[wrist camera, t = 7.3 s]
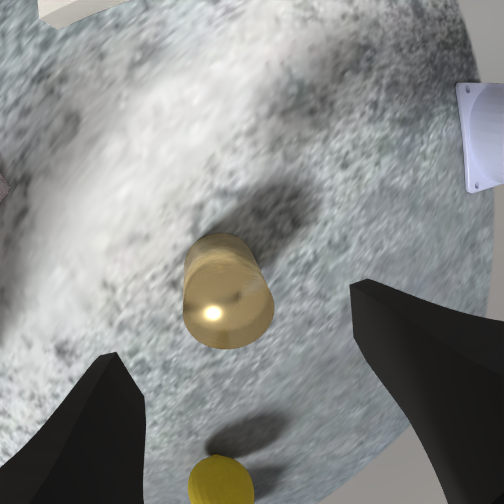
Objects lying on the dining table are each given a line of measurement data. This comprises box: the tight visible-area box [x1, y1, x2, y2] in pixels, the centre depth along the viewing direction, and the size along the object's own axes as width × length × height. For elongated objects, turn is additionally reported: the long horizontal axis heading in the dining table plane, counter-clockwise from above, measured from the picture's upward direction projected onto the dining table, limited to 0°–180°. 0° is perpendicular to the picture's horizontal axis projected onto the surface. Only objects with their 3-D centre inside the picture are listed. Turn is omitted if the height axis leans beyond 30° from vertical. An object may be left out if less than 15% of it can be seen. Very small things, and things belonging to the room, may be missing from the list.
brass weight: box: [183, 233, 274, 349], centre depth 16 cm, size 4×4×5 cm
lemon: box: [188, 454, 254, 504], centre depth 22 cm, size 6×6×8 cm
